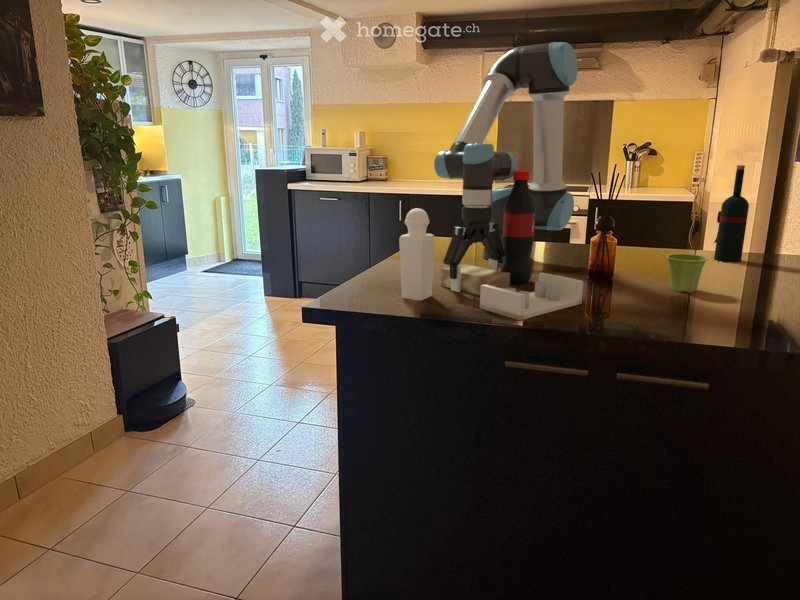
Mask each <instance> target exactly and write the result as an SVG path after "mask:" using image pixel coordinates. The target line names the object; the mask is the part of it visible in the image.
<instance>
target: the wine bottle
mask: <svg viewBox="0 0 800 600" xmlns="http://www.w3.org/2000/svg"><path fill="white" fill-rule="evenodd" d="M745 169H746V165H741V164H740V165H739V164H738V165H737V164H736V170H735V176H734V177H735V178H734V186H733V192H732V196H731V195H730V196H729V197H727V198H726V199H725V200H724V201H723V202H722V203H721V208H720V209H721V210H718V213H717V219H716V222H717V224H718V228H717V233H716V238H715V239H714V242H713V244H715V250H714V254H713V255H714V257H713V260H714V261H716V260H717V261H716V262H720V261H722V263H728V262H732V264H734V263H741V262H742V256H743V249H744V243H745V236H746V229H747V222H748V215H749V207H750V204H749V201H748V200H747V199H746V198H745V197H743V196H742V189H743V182H744V176H745Z"/></svg>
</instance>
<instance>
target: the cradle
mask: <svg viewBox="0 0 800 600" xmlns="http://www.w3.org/2000/svg"><path fill="white" fill-rule="evenodd" d="M583 289H584V280H580V279H575V278H571V277H566V276H562V275H557V274H556V275H555V274H551V273H547V272H539V273H538V280H536V281H535V282H534V291H532V292H530V291H526V290H519V291H517V289H516V288H514V287H509V288H504V289H502V288H498V287H494V286H490V285H486V284H484V285H481V289H480V295H479V296H480V297H479V309H481V310H484V311H488V312H491V313H494V314H497V315H499V316H500V315H501V316H503V317H504V316H505V317H507V318H511V319H515V320H518V321H522V320H526V319H529V318H532V317H533V318H534V317H536V316H541V315H544V314H548V313H551V312H555V311H558V310H559V311H560V310H563V309H566V308H569V307H573V306H577V305H580V304H581V305H582V302H583V292H584V291H583Z"/></svg>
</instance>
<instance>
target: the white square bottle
mask: <svg viewBox="0 0 800 600" xmlns="http://www.w3.org/2000/svg"><path fill="white" fill-rule="evenodd" d="M429 224H430V219H429V216H428V213H427V211H425V210H424V209H423V208H419V207H418V208H417V207H415V208H412V209H410V210H409V211H408V212H407V213H406V216H405V219H404V225H406V227H407V233H406V234H402V235H401V236H399V237H398V238H399V239H398V240H399V241H398V242H399V243H398V244H399V260H400V261H399V262H400V265H399V267H400V282H401V283H400V286H401V289H400V290H401V298H402V299H407V300H412V301H419V302H420V301H424V300H426V299H428V298H430V297H432V294H433V278H434V277H433V276H434V261H435V257H434V256H435V241H436V239H435V238H436V237H435V235H434V234H432V233H427V229H428V226H429Z"/></svg>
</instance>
